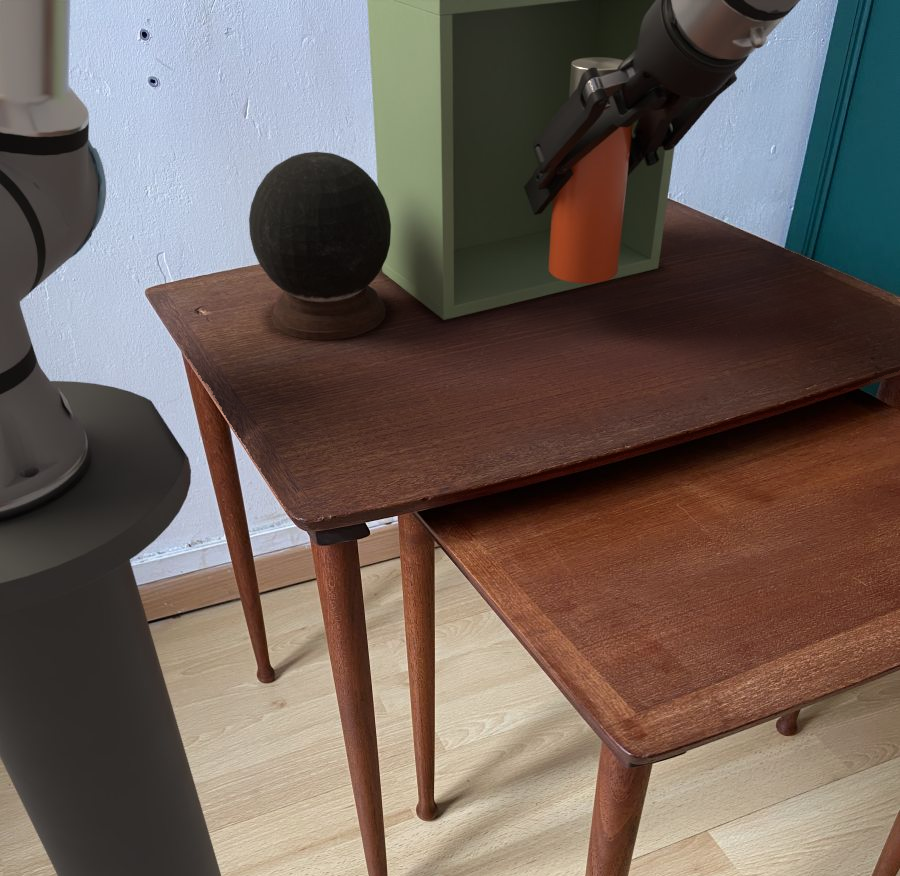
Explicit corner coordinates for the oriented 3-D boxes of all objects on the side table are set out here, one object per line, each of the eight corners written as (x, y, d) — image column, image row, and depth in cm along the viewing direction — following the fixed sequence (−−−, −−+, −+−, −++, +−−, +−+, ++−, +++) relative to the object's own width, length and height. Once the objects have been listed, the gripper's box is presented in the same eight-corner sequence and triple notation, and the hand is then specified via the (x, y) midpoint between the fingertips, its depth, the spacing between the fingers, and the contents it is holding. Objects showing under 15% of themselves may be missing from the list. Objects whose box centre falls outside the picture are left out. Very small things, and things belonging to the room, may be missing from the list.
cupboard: (658, 268, 103) (698, -29, 85) (443, 320, 93) (439, -2, 76) (584, 229, 112) (606, -46, 95) (382, 272, 103) (365, -25, 85)
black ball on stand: (418, 325, 92) (413, 162, 83) (291, 356, 88) (270, 187, 78) (361, 279, 101) (350, 126, 91) (243, 305, 96) (218, 147, 87)
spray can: (555, 285, 86) (569, 73, 75) (542, 259, 91) (553, 56, 80) (624, 281, 87) (648, 70, 76) (608, 255, 92) (628, 53, 80)
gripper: (617, 83, 62) (488, 251, 84) (834, 50, 69) (663, 213, 91) (577, -23, 63) (459, 172, 84) (798, -45, 69) (636, 140, 91)
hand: (565, 193), depth 87 cm, fingers closed on spray can, 6 cm apart
